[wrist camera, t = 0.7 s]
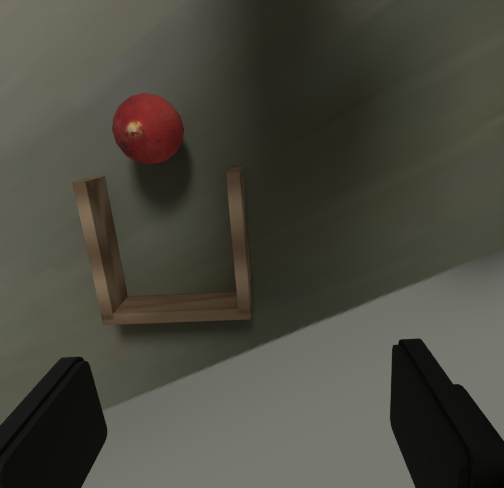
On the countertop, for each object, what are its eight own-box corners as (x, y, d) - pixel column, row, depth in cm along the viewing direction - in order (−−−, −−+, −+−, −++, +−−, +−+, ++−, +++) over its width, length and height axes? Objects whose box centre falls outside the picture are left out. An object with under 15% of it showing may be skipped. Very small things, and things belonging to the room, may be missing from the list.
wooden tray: (92, 177, 36) (72, 182, 32) (242, 167, 35) (239, 171, 31) (119, 306, 41) (103, 325, 37) (252, 301, 40) (251, 319, 36)
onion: (157, 172, 36) (126, 184, 28) (119, 122, 35) (76, 120, 27) (202, 137, 35) (184, 139, 27) (165, 84, 33) (134, 71, 26)
